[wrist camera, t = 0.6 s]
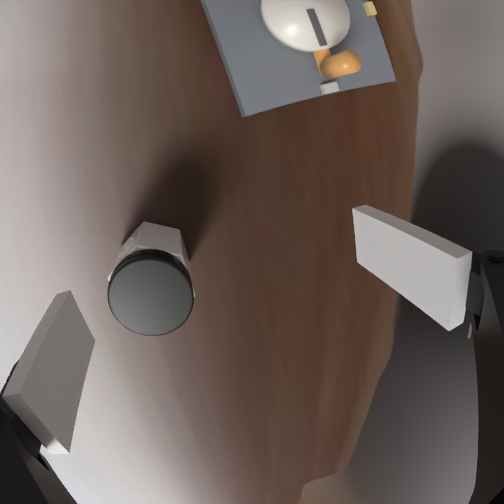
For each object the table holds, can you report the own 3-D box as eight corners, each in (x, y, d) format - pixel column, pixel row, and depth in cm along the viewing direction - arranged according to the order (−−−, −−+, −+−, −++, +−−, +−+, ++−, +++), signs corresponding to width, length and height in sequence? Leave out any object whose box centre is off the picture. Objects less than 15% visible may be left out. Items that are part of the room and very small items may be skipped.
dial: (247, -17, 28) (261, -41, 22) (326, -24, 29) (350, -43, 23) (286, 89, 34) (308, 81, 28) (362, 73, 35) (393, 66, 29)
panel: (188, -32, 28) (189, -42, 25) (338, -47, 30) (347, -54, 27) (242, 117, 36) (247, 115, 34) (387, 82, 38) (399, 80, 36)
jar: (154, 206, 37) (148, 234, 26) (202, 250, 41) (215, 293, 30) (108, 258, 38) (87, 304, 27) (155, 298, 41) (153, 353, 30)
